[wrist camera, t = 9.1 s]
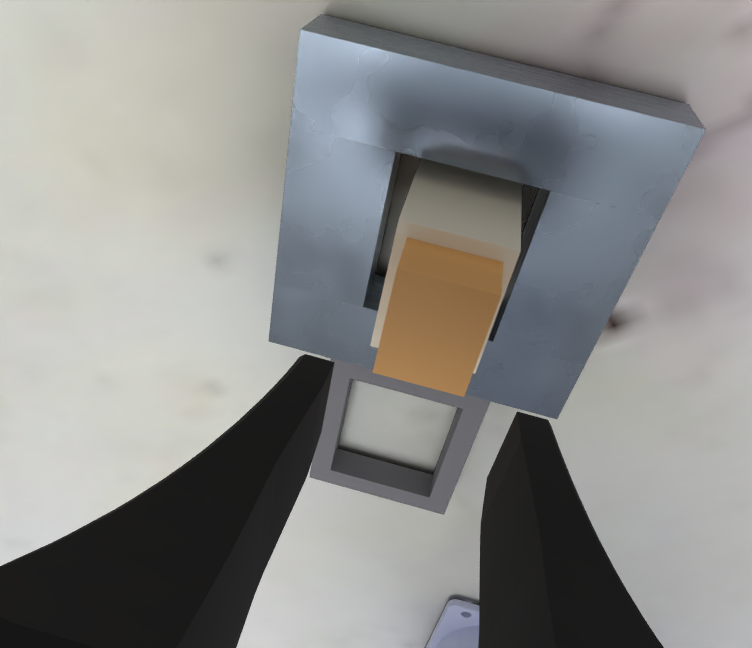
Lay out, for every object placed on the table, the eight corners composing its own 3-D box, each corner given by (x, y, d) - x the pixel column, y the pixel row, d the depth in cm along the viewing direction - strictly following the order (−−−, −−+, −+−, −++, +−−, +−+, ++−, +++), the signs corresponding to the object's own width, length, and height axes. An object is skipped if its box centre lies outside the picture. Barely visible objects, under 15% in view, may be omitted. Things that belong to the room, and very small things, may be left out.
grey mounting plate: (492, 376, 23) (491, 399, 22) (446, 491, 27) (443, 514, 26) (339, 335, 23) (331, 355, 22) (316, 455, 27) (309, 476, 26)
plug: (521, 177, 19) (519, 284, 14) (484, 287, 21) (471, 411, 16) (422, 152, 19) (387, 249, 14) (396, 264, 21) (358, 380, 16)
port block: (688, 104, 17) (705, 129, 15) (554, 380, 23) (557, 419, 21) (321, 14, 17) (300, 29, 15) (286, 308, 23) (268, 341, 21)
